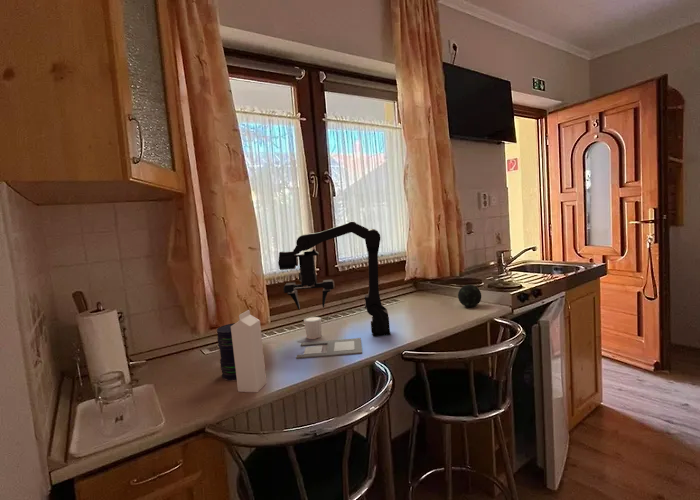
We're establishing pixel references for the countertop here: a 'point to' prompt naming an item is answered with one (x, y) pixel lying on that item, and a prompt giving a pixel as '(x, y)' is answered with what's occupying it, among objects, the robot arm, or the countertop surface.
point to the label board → (332, 348)
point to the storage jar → (226, 352)
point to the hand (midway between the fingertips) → (311, 308)
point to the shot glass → (313, 327)
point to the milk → (248, 353)
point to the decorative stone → (469, 295)
